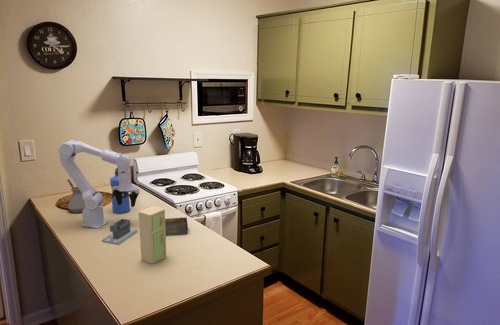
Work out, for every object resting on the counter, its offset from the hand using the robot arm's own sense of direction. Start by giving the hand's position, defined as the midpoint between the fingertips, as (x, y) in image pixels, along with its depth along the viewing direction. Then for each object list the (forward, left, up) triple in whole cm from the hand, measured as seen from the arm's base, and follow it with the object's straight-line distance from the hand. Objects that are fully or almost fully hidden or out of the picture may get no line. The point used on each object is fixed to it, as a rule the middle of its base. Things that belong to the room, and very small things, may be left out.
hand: (126, 205), depth 175 cm
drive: (+6, -14, -9) cm, 18 cm away
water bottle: (-14, +14, -10) cm, 22 cm away
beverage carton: (+24, -3, -10) cm, 26 cm away
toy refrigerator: (+32, -27, -10) cm, 43 cm away
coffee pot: (-41, +10, -10) cm, 43 cm away
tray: (+6, -14, -10) cm, 18 cm away
